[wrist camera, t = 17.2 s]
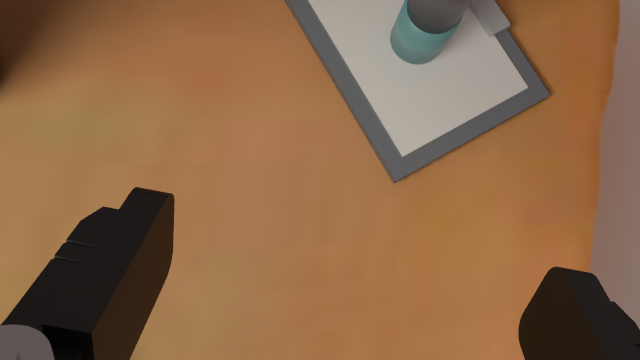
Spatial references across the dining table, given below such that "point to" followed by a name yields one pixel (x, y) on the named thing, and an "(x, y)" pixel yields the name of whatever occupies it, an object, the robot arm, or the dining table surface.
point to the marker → (425, 28)
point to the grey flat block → (420, 78)
